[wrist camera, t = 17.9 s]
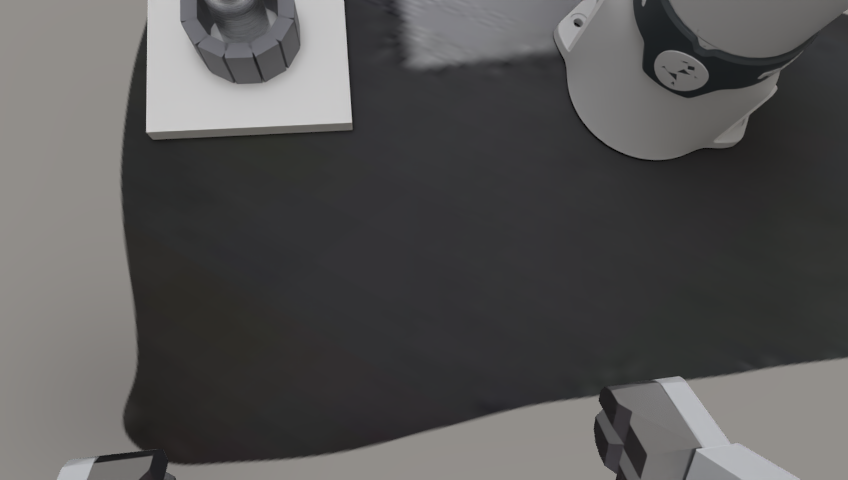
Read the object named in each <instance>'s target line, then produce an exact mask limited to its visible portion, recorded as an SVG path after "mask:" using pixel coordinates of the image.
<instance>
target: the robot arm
mask: <svg viewBox="0 0 848 480" xmlns="http://www.w3.org/2000/svg"><path fill="white" fill-rule="evenodd" d="M847 9H848V0H583V1H582V2H580V3H579V4H578V5H577V6H576V7H575V8H574V9H573V10H572V11H571V12H570V13H569V14H568V15H567V16H566V17H565V18H564V19H563V20H562V21H561V22H560V23H559V24H558V25H557V27H556V28H555V30H554V39H555V42H556V44H557V47H558V49H559V50H560V52H561V54H562V56H563V58H564V60H565V63H566V69H567V83H568V89H569V94H570V97H571V100H572V103H573V105H574V107H575V109H576V111H577V113H578V115H579V117H580V118H581V120H582V121H583V122H584V124H585V125H586V126H587V127H588V129H589V130H590V131H591V132H592V133H593V134H594V135H595V136H596V137H598V138H599V139H600V140H601V141H603V142H604V143H605V144H607V145H608V146H610V147H612V148H613V149H615V150H617V151H619V152H622V153H624V154H626V155H629V156H633V157H636V158H641V159H648V160H665V159H672V158H676V157H680V156H683V155H685V154H688V153H690V152H692V151H695V150H698V149H701V148H728V147H732V146H734V145H735V144H736V143H738V142H739V141H740V140H741V139H742V138H743V136H744V133H745V129H746V125H747V122H748V118H749V115H750V114H751V113H752V112H753V111H755V110H756V109H757V108H758V107H759V106H761V105H762V104H763V103H764V102H766V101H767V100H768V99H769V98H770V97H771V96H773V94H774V93H775V92H776V90H777V86H776V83H777V80H778V78H779V74H780V70H782V69H783V68H785V67H786V66H787V65H789V64H790V63H791V62H792V61H793V60H795V59H796V58H797V57H798V56H799V55H800V53H802V52H803V50H805V49H806V48H807V47H808V46H809V45H810V44H811V43H812V41H813V40H814V39H815V38H816V36H817V35H818V33H819V31H820V30H821V29H822V28H823V27H825V26H826V25H827V24H829V23H830V22H831V21H832V20H834V19H835V18H836V17H838V16H839V15H840V14H842V13H843V12H844V11H846V10H847ZM574 23H577V24H579V26H580V27H576V26H575V25H574ZM599 402H600V404H601V406H602V408H603V410H602V411H601V412H600V413H599V414H598V415H597V416H596V417H595V424H594V434H595V443H596V446H597V449H598V452H599V455H600V457H601V459H602V461H603V463H604V465H605V466H606V467H607V468H609V469H610V470H612V471H613V472H614V473H616V474H617V477H616V480H801V479H799V478H798V477H796V476H794V475H792V474H791V473H789V472H787V471H786V470H784V469H782V468H780V467H779V466H777V465H775V464H774V463H772V462H770V461H769V460H767V459H765V458H764V457H762V456H760V455H758V454H757V453H755V452H753V451H752V450H750V449H748V448H747V447H745V446H743V445H742V444H740V443H733V444H731V443H730V442H729V440H728V439H727V437H726V436H725V435H724V433H723V432H722V430H721V429H720V428H719V426H718V425H717V423H716V422H715V421H714V419H713V418H712V417H711V415H710V414H709V412H708V411H707V410H706V408H705V407H704V406H703V404H702V403H701V402H700V400H699V399H698V398H697V396H696V395H695V393H694V392H693V390H692V389H691V388H690V386H689V385H688V384H687V382H686V381H685V380H684V379H683V378H681V377H680V376H677V377H670V378H663V379H655V380H645V381H639V382H632V383H625V384H619V385H612V386H606V387H604V388H603V389H602V390H601V392H600V397H599ZM167 465H168V459H167V457H166V455H165V453H164V451H163V449H156V450H147V451H138V452H130V453H120V454H111V455H103V456H95V457H87V458H79V459H71V460H69V461H68V462H67V463H66V464H65V465H64V466H63V468H62V469H61V471H60V473H59V475H58V478H57V480H176V478H175V477H174V476H173V475H171V474H169V473H167V472H166V469H167Z"/></svg>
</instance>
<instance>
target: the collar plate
mask: <svg viewBox="0 0 848 480" xmlns="http://www.w3.org/2000/svg"><path fill="white" fill-rule="evenodd" d="M263 2H264V5H265V8H266V12H267V15H268V18H269V22H270V25H271V29H270V30H269V32H268V33H266V34H265V35H263V36H261V37H259V38H257V39H256V40H254V41H252V42H250V43H230V44H227V43H225V42H224V41H223V39H222V37H221V35H220V33H219V30H218V28H217V26H216V24H215V22H214V20H213V17H212V15H211V13H210V11H209V9H208V7H207V4H206V2H205V0H148V29H147V111H146V133H147V134H148V135H149V136H150V137H151V138H152V139H153V140H158V139H178V138H199V137H220V136H240V135H261V134H282V133H302V132H323V131H344V130H353V128H352V113H351V98H350V83H349V69H348V54H347V39H346V24H345V9H344V0H263Z"/></svg>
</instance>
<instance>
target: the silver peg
mask: <svg viewBox="0 0 848 480" xmlns="http://www.w3.org/2000/svg"><path fill="white" fill-rule="evenodd" d="M205 2H206V4H207V7H208V9H209V11H210V13H211V15H212V17H213V20H214V22H215V24H216V26H217V28H218V30H219V33H220V35H221V37H222V39H223V41H224V42H225V43H227V44H230V43H250V42H252V41H254V40H256V39H257V38H259V37H261V36H263V35H265V34H266V33H268V32H269V30H270V29H271V25H270V22H269V18H268V15H267V12H266V8H265V5H264V2H263V0H205Z"/></svg>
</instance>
